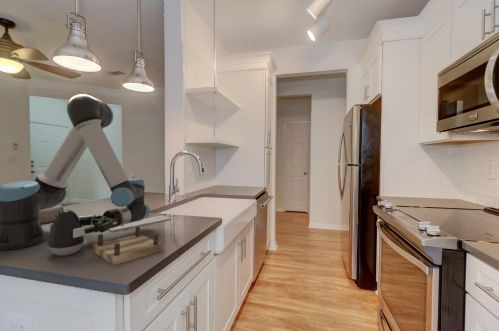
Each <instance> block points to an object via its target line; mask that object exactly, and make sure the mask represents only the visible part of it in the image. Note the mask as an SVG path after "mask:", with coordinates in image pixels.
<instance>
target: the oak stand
mask: <svg viewBox="0 0 499 331" xmlns="http://www.w3.org/2000/svg"><path fill="white" fill-rule="evenodd" d="M140 229H141V226H139V227H134V230H135V234H133V235H129V236H124V237H121V238H118V239H113V240H107V241H104V233H103V234H102V233H100V234H98V235H97V243H96V244H93V249H92V250H93V253H95V254H97V255H98V256H99V257H101V258H102V259H104V260H105V261H106V262H108V263H109V264H111V265H112V266H117V265H119V264H123V263H126V262H129V261H133V260H135V259H140V258H143V257H145V256H149V255H151V254H155V253H158V252H162V251H163V243H162V242H160V241H159V233H154V234H153V238H150V237H148V236H146V235H143V234H141V230H140Z"/></svg>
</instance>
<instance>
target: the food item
mask: <svg viewBox="0 0 499 331" xmlns="http://www.w3.org/2000/svg"><path fill="white" fill-rule="evenodd" d="M59 211H65V210H64V206H63V205H61V203H60V204H58V205H56V206H54V207H51V208H47V209H44V210H40V211H39V222H40V224H41V225H45V224H52V223H54V221H55V219H56V217H57V216H58V214H59Z"/></svg>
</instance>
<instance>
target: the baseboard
mask: <svg viewBox="0 0 499 331" xmlns="http://www.w3.org/2000/svg"><path fill="white" fill-rule="evenodd" d="M171 220H172V215H169V216H168V215H167V213H164V214H163V213H160V214H159V215H157V216H151V217H147V218H145V219H143V220H140V221H136V222H132V223H128V224H124V226H118V227H114V228H110V229H108V230H107V231H109V232H110V233H114V232H115V233H116V232H119V231H124V229H125V230H129V229H132V228H134V229H135V228H136V227H143V226H148V225H153V224H156V223H157V224H158V223H161V222H167V221H171Z"/></svg>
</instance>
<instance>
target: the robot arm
mask: <svg viewBox="0 0 499 331" xmlns="http://www.w3.org/2000/svg"><path fill="white" fill-rule="evenodd" d="M66 112H67V116H68V118H69V120H70V122H71V124H72V128H71V129H70V130H69V132H68V134H67V135H66V137H65V139H64V140H63V142H62V144H61V146H59V148H58V150H57V151H56V153H55V155H54V156H53V158H52V160H51V161H50V163H49V164H48V166H47V168H46V169H45V171H44V172H42V173H39V174H37V176H35V179H34V180H23V181H13V182H7V183H5V184H1V185H0V251H9V250H10V251H11V250H17V249H18V250H19V249H22V248H27V247H32V246H35V245H38V244H41V243H42V242H44V241H45V239H46V237H45V236H46V233H45V231H44V229H43V227H42V224H40V222H39V211H40V210H44V209H47V208H51V207H54V206H56V205H58V204H60V205H61V203H62V202H63V201H64V200H65V199H66V198H67V194H68V193H67V188H68V186H69V184H68V179H69V178H70V176H71V174H72V172H73V171H74V169H75V168H76V166H77V164H78V163H79V161H80V160H81V158H82V156H83V155H84V153H85V152H86V150H87V148H88V149H89V151H90V154H91V156H92V157H93V160H94V161H95V163H96V166H97V167H98V169H99V171H100V172H101V174H102V176H103V178H104V181H105V182H106V184H107V185H108V188H109V189H110V192H111V195H110V200H111V203H112V204H113V205H114V206H115V207H117V208H111V209H107V210H106V211H104V212H103V214H102V215H95V214H92V215H93V216H90V215H86V216H87V217H80V216H78V217H79V219H80V222H81V225H89V226H85V227H81V228H77V229H73V238H75V237H79V236H83V235H84V236H86V235H89V234H90V235H91V234H94V233H100V234H102V233H104V232H106V231H108V229H110V228H114V227H118V226H124V224H128V223H132V222H136V221H140V220H143V219H145V218H149V216H150V214H151V213H150V212H151V209H150V208H149V207H150V206H149V205H148V204H147V203H145V188H146V187H145V186H146V184H145V180H144V179H143V178H135V179H133V178H128V176H127V174H126V172H125V170H124V168H123V166H122V165H121V163H120V161H119V158H118V156H117V154H116V153H115V151H114V148H113V147H112V145H111V143H110V141H109V138H108V137H107V136H106V134H105V132H104V129H105V128H107V127H109V126H110V125H111V124H112V123H113V121H114V112H113V110H112V108H111V106H110V105H108V104H107V103H106V102H104V101H102V100H101V99H98V98H95V97H94V96H91V95H88V94H83V93H82V94H81V93H80V94H76V95H73V96H72V97H70V99H68V102H67V104H66ZM91 222H92V224H91ZM53 223H54V222H51V223H48V233H50V232H51V229H52V226H53ZM94 226H95V227H94Z"/></svg>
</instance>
